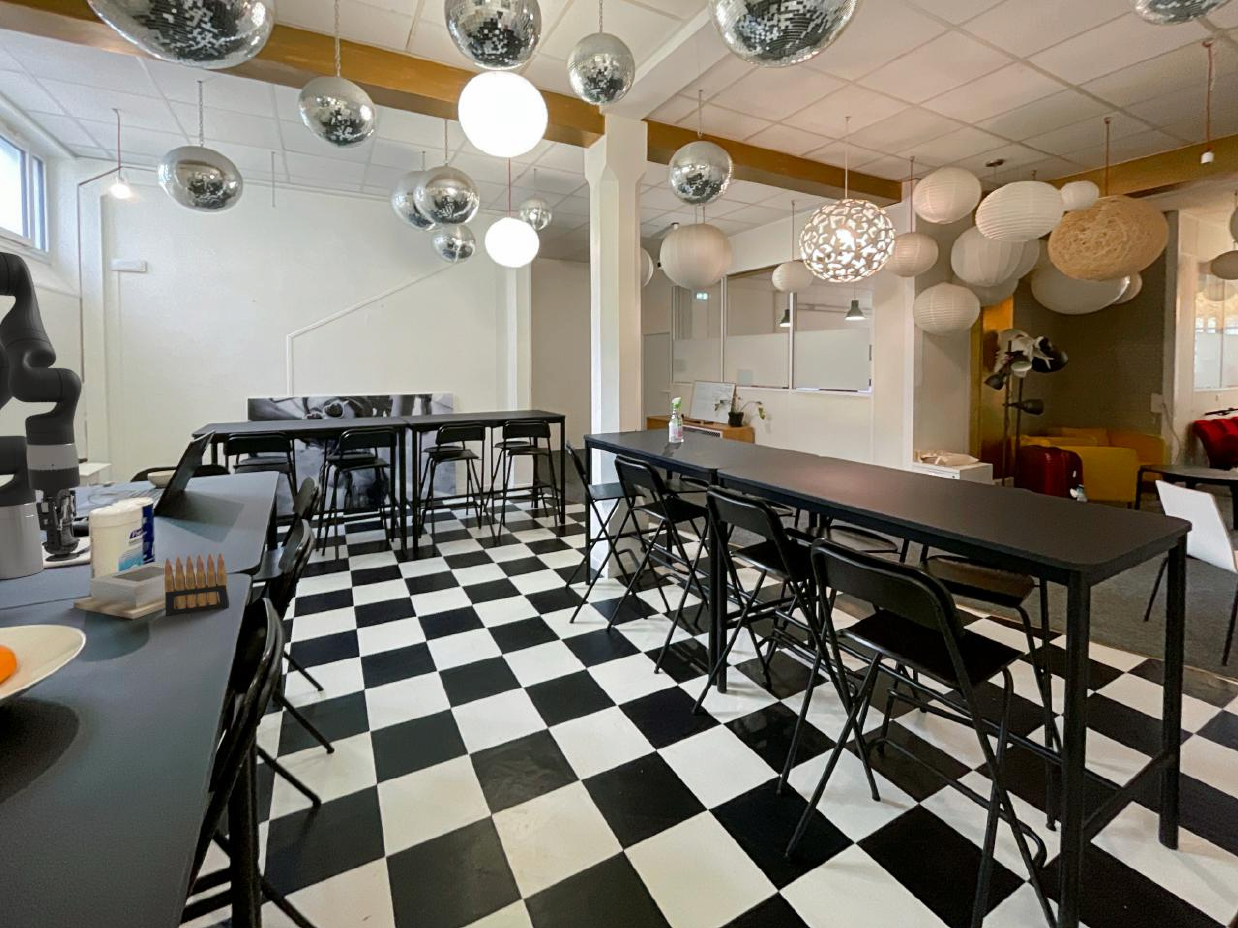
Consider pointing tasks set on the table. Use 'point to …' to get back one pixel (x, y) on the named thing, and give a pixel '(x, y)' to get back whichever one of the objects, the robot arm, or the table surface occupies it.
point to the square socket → (133, 585)
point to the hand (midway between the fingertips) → (61, 543)
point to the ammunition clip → (195, 587)
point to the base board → (119, 608)
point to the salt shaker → (68, 544)
